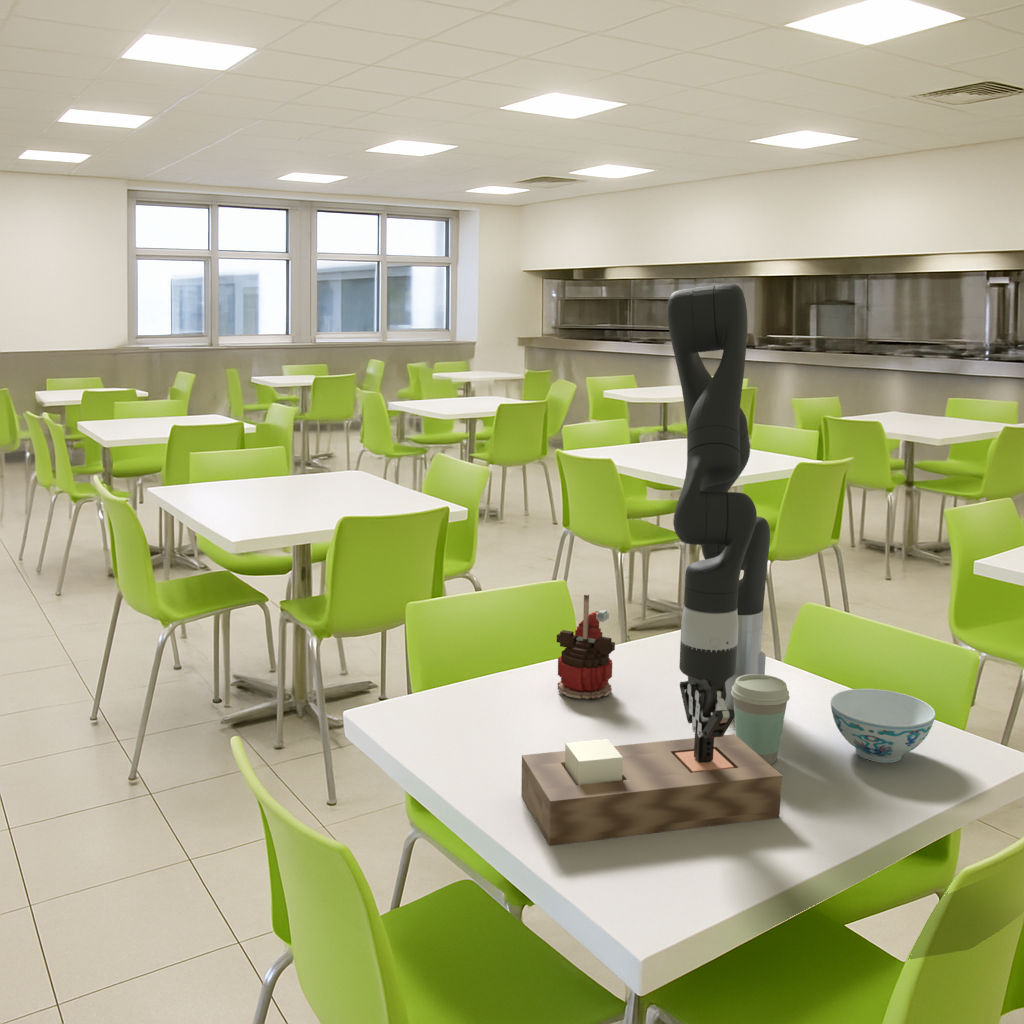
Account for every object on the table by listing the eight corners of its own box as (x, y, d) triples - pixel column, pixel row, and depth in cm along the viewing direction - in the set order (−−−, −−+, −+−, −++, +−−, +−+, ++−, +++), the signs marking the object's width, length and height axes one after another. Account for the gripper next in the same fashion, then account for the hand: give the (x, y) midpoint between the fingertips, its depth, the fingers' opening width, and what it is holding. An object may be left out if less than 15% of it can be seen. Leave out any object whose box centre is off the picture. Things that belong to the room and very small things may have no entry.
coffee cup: (787, 750, 157) (792, 676, 154) (783, 773, 149) (788, 695, 146) (731, 742, 159) (735, 669, 157) (724, 764, 151) (728, 688, 149)
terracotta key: (713, 775, 143) (714, 748, 143) (732, 794, 138) (733, 766, 137) (673, 779, 142) (674, 752, 141) (691, 799, 136) (692, 771, 135)
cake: (545, 695, 179) (547, 596, 175) (568, 679, 187) (570, 584, 184) (601, 706, 174) (603, 605, 170) (622, 689, 182) (625, 592, 178)
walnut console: (732, 772, 149) (734, 734, 148) (779, 817, 135) (782, 775, 134) (521, 795, 141) (521, 755, 140) (549, 845, 128) (550, 801, 127)
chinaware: (950, 758, 154) (955, 710, 153) (894, 784, 145) (898, 733, 144) (864, 726, 166) (867, 682, 165) (807, 749, 157) (810, 702, 156)
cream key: (606, 766, 139) (607, 738, 138) (621, 785, 133) (622, 757, 132) (564, 770, 137) (565, 743, 137) (578, 790, 132) (579, 761, 131)
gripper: (757, 652, 130) (750, 778, 134) (713, 623, 143) (707, 738, 146) (704, 656, 129) (698, 784, 132) (663, 626, 141) (659, 743, 144)
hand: (703, 759), depth 139 cm, fingers closed
